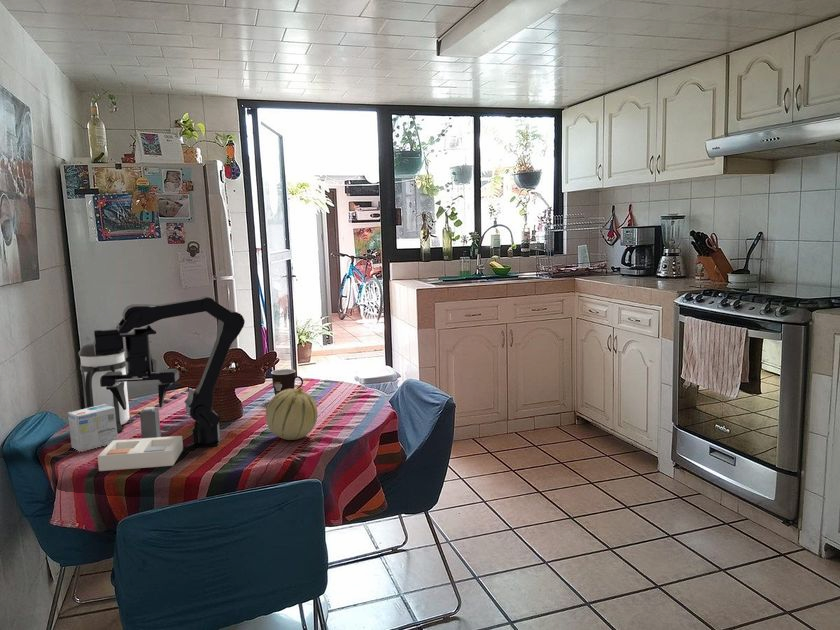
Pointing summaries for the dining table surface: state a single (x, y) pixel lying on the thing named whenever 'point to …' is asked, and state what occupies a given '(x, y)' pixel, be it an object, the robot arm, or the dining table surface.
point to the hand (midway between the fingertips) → (143, 408)
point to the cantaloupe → (291, 414)
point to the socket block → (140, 453)
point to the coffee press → (91, 376)
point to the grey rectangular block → (150, 422)
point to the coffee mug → (284, 380)
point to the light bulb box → (92, 427)
